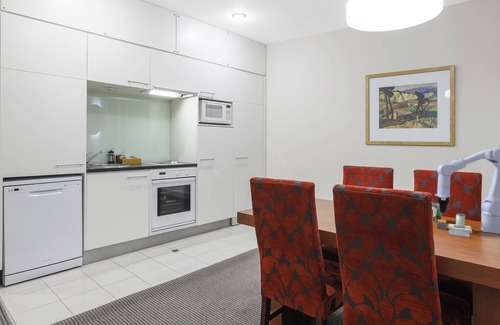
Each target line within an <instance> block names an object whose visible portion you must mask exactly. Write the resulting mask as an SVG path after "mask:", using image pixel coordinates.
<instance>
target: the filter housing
mask: <svg viewBox="0 0 500 325" xmlns="http://www.w3.org/2000/svg"><path fill="white" fill-rule="evenodd" d="M447 226H448V227H447ZM447 228H448V229H447ZM436 229H437V230H442V231H448V230H451V231H459V232H467V233H469V234H472V233H473V230H472V227H471V226H470V225H465V226H464V228H456V223H455V224H453V223H448V224H447V222H446V224H439V223H438V222H437V223H436Z"/></svg>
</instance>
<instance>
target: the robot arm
mask: <svg viewBox="0 0 500 325" xmlns="http://www.w3.org/2000/svg"><path fill="white" fill-rule="evenodd" d="M480 160H487V161H489V162H490V163H492V165H493V166H494V167H495V169H494V173H493V176H492V180H491V185H490V188H489V192H488V195H487V196H486V197H485V198H484V200H483V202H482V203H481V205H480V207H481V208H480V209H481V210H482V227H480V230H481V232H484V233H490V234H491V233H492V234H499V235H500V148H499V147H498V148H492V147H490V148H485V149H483V150H480V151H478V152H476V153H473V154H471V155H469V156H467V157H464V158H462V157H459V158H458V157H456V158H454V160H451V161H447V162H445V163H444V164H440V165H438V166H437V168H436V169H435V170H436V173H437V174H438V176H437V193H434V196H435V197H437V198H436V201H437V202H438V203H437V204H439V207H440V212H442V213H443V214H445V213H446V210H447V206H448V204H449V202H450V200H449V199H450V197H451V195H450V194H451V175H452V174H453V173H454V172H458V171H461V170H462V169H465V168H466V167H467V165H468V164H469V165H470V164H472V163H474V162H477V161H480Z"/></svg>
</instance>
